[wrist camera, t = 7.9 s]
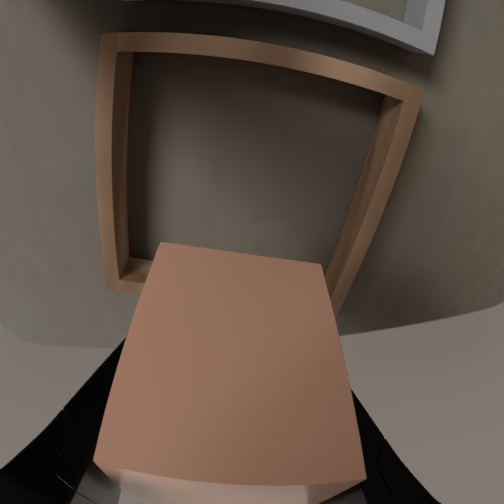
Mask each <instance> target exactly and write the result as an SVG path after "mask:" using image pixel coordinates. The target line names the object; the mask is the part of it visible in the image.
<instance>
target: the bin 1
mask: <svg viewBox="0 0 504 504" xmlns="http://www.w3.org/2000/svg"><path fill="white" fill-rule="evenodd" d="M122 1H144V0H122ZM176 1H199V2H212V3H223V4H232V5H240V6H248V7H255V8H261V9H267V10H273V11H278V12H283V13H288V14H293V15H297V16H302V17H306V18H310V19H314V20H318V21H322V22H326V23H330V24H333V25H337V26H340V27H344V28H347V29H350V30H353V31H356V32H360V33H363V34H366V35H368V36H371V37H374V38H377V39H380V40H382V41H385V42H388V43H390V44H393V45H395V46H398V47H400V48H403V49H405V50H408V51H410V52H412V53H420V54H427V55H434V53H435V49H436V45H437V40H438V36H439V31H440V26H441V22H442V17H443V11H444V6H445V0H407V5H406V10H405V15H404V20H403V23H402V22H400V21H398V20H395V19H393V18H390V17H388V16H385V15H383V14H380V13H377V12H375V11H372V10H369V9H366V8H363V7H360V6H357V5H354V4H351V3H348V2H345V1H341V0H176Z"/></svg>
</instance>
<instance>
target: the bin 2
mask: <svg viewBox="0 0 504 504" xmlns="http://www.w3.org/2000/svg"><path fill="white" fill-rule="evenodd" d="M134 52H166V53H183V54H196V55H207V56H216V57H225V58H232V59H240V60H246V61H253V62H259V63H265V64H270V65H276V66H281V67H286V68H291V69H296V70H300V71H305V72H309V73H313V74H317V75H321V76H325V77H329V78H333V79H337V80H340V81H344V82H347V83H351V84H354V85H358V86H361V87H364V88H367V89H370V90H373V91H377V92H380V93H383V94H385V97H384V100H383V104H382V107H381V111H380V114H379V118H378V121H377V125H376V128H375V131H374V135H373V138H372V141H371V145H370V148H369V151H368V154H367V157H366V160H365V164H364V167H363V170H362V173H361V176H360V179H359V182H358V185H357V188H356V191H355V194H354V197H353V199H352V202H351V205H350V208H349V211H348V214H347V216H346V219H345V222H344V225H343V228H342V230H341V233H340V236H339V238H338V241H337V244H336V246H335V249H334V252H333V254H332V257H331V260H330V262H329V265H328V267H327V270H326V272H325V275H324V278H325V281H326V285H327V289H328V293H329V297H330V301H331V305H332V309H333V313H334V317H335V318H336V316H337V314H338V312H339V310H340V308H341V306H342V304H343V302H344V300H345V298H346V296H347V294H348V292H349V290H350V288H351V285H352V283H353V281H354V279H355V277H356V275H357V272H358V270H359V268H360V266H361V264H362V261H363V259H364V257H365V255H366V252H367V250H368V248H369V245H370V243H371V241H372V238H373V236H374V234H375V231H376V229H377V226H378V224H379V222H380V219H381V217H382V214H383V212H384V209H385V207H386V204H387V201H388V199H389V196H390V194H391V191H392V188H393V186H394V183H395V180H396V178H397V175H398V172H399V169H400V167H401V164H402V161H403V158H404V155H405V152H406V149H407V146H408V143H409V140H410V137H411V134H412V131H413V128H414V125H415V122H416V119H417V115H418V112H419V109H420V105H421V102H422V98H423V95H424V91H425V90H424V89H422V88H419V87H417V86H415V85H412V84H410V83H407V82H404V81H402V80H399V79H397V78H394V77H391V76H389V75H386V74H383V73H380V72H377V71H374V70H371V69H368V68H365V67H362V66H359V65H356V64H352V63H349V62H346V61H342V60H339V59H335V58H332V57H328V56H324V55H320V54H316V53H312V52H308V51H304V50H299V49H295V48H290V47H285V46H280V45H275V44H269V43H264V42H258V41H252V40H245V39H238V38H230V37H222V36H212V35H201V34H187V33H167V32H120V33H101V34H100V43H99V52H98V64H97V77H96V96H95V173H96V192H97V206H98V218H99V229H100V238H101V247H102V255H103V263H104V270H105V277H106V283H107V288H109V289H114V290H120V291H126V292H131V293H137V294H141V293H142V290H143V287H144V284H145V282H146V279H147V276H148V273H149V271H150V268H151V265H152V263H153V260H147V259H140V258H134V257H130V253H129V236H128V212H127V140H128V117H129V100H130V87H131V75H132V65H133V56H134Z"/></svg>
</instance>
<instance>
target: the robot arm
mask: <svg viewBox="0 0 504 504" xmlns="http://www.w3.org/2000/svg"><path fill="white" fill-rule="evenodd" d="M125 340H126V338H125V339H124V340H123V341H122V342H121V343H120V344H119V346H118V347H117V348H116V349H115V350H114V351H113V352H112V353H111V355H110V356H109V357H108V358H107V359H106V360H105V361H104V362H103V363H102V365H101V366H100V367H99V368H98V369H97V370H96V371H95V372H94V373H93V375H92V376H91V377H90V378H89V379H88V380H87V381H86V383H85V384H84V385H83V386H82V387H81V388H80V389H79V391H78V392H77V393H76V394H75V395H74V396H73V398H71V400H70V401H69V402H68V403H67V404H66V405H65V407H64V410H61V411H60V412H59V413H58V414H57V416H56V417H55V418H54V419H53V420H52V421H51V423H50V424H49V425H48V426H47V427H46V428H45V429H44V430H43V431H42V432H41V433H40V434H39V435H38V436H37V437H36V438H35V439H34V440H33V441H32V442H31V443H30V444H28V445H27V446H26V447H25V448H24V449H23V450H22V451H21V452H20V453H18V454H17V455H16V456H15V457H14V458H13V459H12V460H11V461H10V462H9V463H7V464H6V465H5V466H4V467H3V468H1V469H0V504H118V501H119V496H120V492H121V489H120V488H119V487H118V486H117V485H116V484H115V483H114V482H113V481H112V480H111V479H110V478H109V477H108V476H107V475H106V474H105V473H104V472H103V471H102V470H101V469H100V468H99V467H98V466H97V465H96V464H95V462H94V461H93V459H94V454H95V450H96V446H97V441H98V437H99V433H100V429H101V425H102V421H103V417H104V413H105V409H106V405H107V402H108V398H109V394H110V391H111V387H112V383H113V380H114V376H115V373H116V370H117V366H118V363H119V360H120V356H121V353H122V350H123V347H124V343H125ZM350 389H351V388H350ZM351 394H352V399H353V404H354V409H355V414H356V419H357V424H358V430H359V435H360V441H361V447H362V453H363V459H364V465H365V471H366V478H367V479H365V480H364V481H362V482H360V483H358V484H356V485H355V486H353V487H351V488H349V489H347V490H345V491H343V492H341V493H339V494H337V495H335V496H333V497H331V498H329V499H327V500H325V501H322V502H320V503H318V504H441V503H440V502H438V501H437V500H436V499H434V497H433V496H432V495H431V494H430V493H429V492H428V491H427V490H426V489H425V488H424V487H423V486H422V484H421V483H420V482H419V481H418V480H417V479H416V478H415V477H414V476H413V474H412V473H411V472H410V471H409V469H408V468H407V467H406V466H405V465H404V463H403V462H402V461H401V460H400V458H399V457H398V456H397V454H396V453H395V452H394V451H393V449H392V447H391V446H390V445H389V443H388V442H387V440H386V439H384V436H383V435H382V433H381V432H380V430H379V429H378V427H377V426H376V424H375V423H374V422H373V420H372V419H371V417H370V416H369V414H368V413H367V411H366V410H365V408H364V407H363V406H362V404H361V403H360V401H359V400H358V398H357V397H356V395H355V394H354V393H353V391H352V390H351Z"/></svg>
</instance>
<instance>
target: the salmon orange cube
mask: <svg viewBox="0 0 504 504" xmlns="http://www.w3.org/2000/svg"><path fill="white" fill-rule="evenodd" d="M93 461H94V462H95V464H96V465H97V466H98V467H99V468H100V469H101V470H102V471H103V472H104V473H105V474H106V475H107V476H108V477H109V478H110V479H111V480H112V481H113V482H114V483H115V484H116V485H117V486H118V487H119V488H120V489H121V490H122V491H123V492H124V493H125V494H127V495H128V496H129V497H130V498H131V499H132V500H133V501H135V502H140V503H145V504H318V503H320V502H322V501H325V500H327V499H329V498H331V497H333V496H335V495H337V494H339V493H341V492H343V491H345V490H347V489H349V488H351V487H353V486H355V485H356V484H358V483H360V482H362V481H364V480H365V479H367V478H366V471H365V465H364V459H363V453H362V447H361V441H360V435H359V430H358V424H357V419H356V414H355V409H354V404H353V399H352V394H351V389H350V384H349V379H348V374H347V370H346V365H345V360H344V356H343V352H342V347H341V343H340V338H339V334H338V330H337V326H336V321H335V317H334V313H333V309H332V305H331V301H330V297H329V293H328V289H327V285H326V281H325V278H324V274H323V270H322V266H321V264H316V263H309V262H302V261H295V260H287V259H280V258H273V257H266V256H259V255H251V254H244V253H237V252H230V251H223V250H216V249H208V248H201V247H194V246H187V245H180V244H173V243H166V242H160V244H159V247H158V250H157V252H156V255H155V257H154V260H153V263H152V265H151V268H150V271H149V273H148V276H147V279H146V282H145V284H144V287H143V290H142V293H141V296H140V298H139V301H138V304H137V307H136V310H135V313H134V316H133V319H132V322H131V325H130V328H129V331H128V334H127V337H126V340H125V343H124V347H123V350H122V353H121V356H120V360H119V363H118V366H117V370H116V373H115V376H114V380H113V383H112V387H111V391H110V394H109V398H108V402H107V405H106V409H105V413H104V417H103V421H102V425H101V429H100V433H99V437H98V441H97V446H96V450H95V454H94V459H93Z"/></svg>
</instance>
